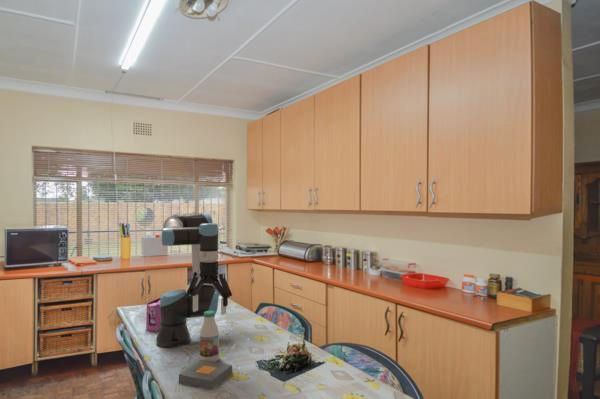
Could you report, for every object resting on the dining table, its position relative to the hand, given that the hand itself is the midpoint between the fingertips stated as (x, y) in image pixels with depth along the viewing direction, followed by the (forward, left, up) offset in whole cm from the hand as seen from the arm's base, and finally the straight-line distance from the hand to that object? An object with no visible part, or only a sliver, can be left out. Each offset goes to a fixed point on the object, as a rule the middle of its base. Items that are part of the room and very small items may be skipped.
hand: (209, 312), depth 165 cm
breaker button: (+8, -14, -19) cm, 25 cm away
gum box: (-50, +33, -20) cm, 63 cm away
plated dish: (+32, +11, -21) cm, 40 cm away
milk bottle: (0, 0, -20) cm, 20 cm away
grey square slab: (+8, -14, -20) cm, 25 cm away
